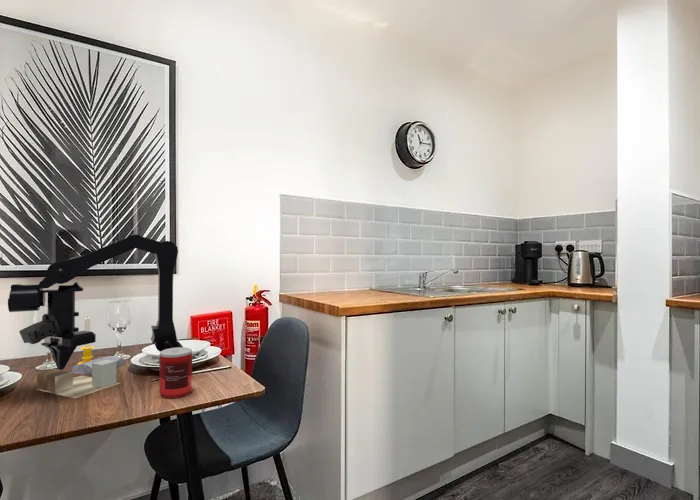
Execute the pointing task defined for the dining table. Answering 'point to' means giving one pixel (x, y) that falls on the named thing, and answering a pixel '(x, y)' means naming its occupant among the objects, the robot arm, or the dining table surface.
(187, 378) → the canned food
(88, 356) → the candle
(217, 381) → the dining table surface
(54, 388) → the walnut block
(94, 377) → the pale grey block
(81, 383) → the serving board
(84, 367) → the stone block
